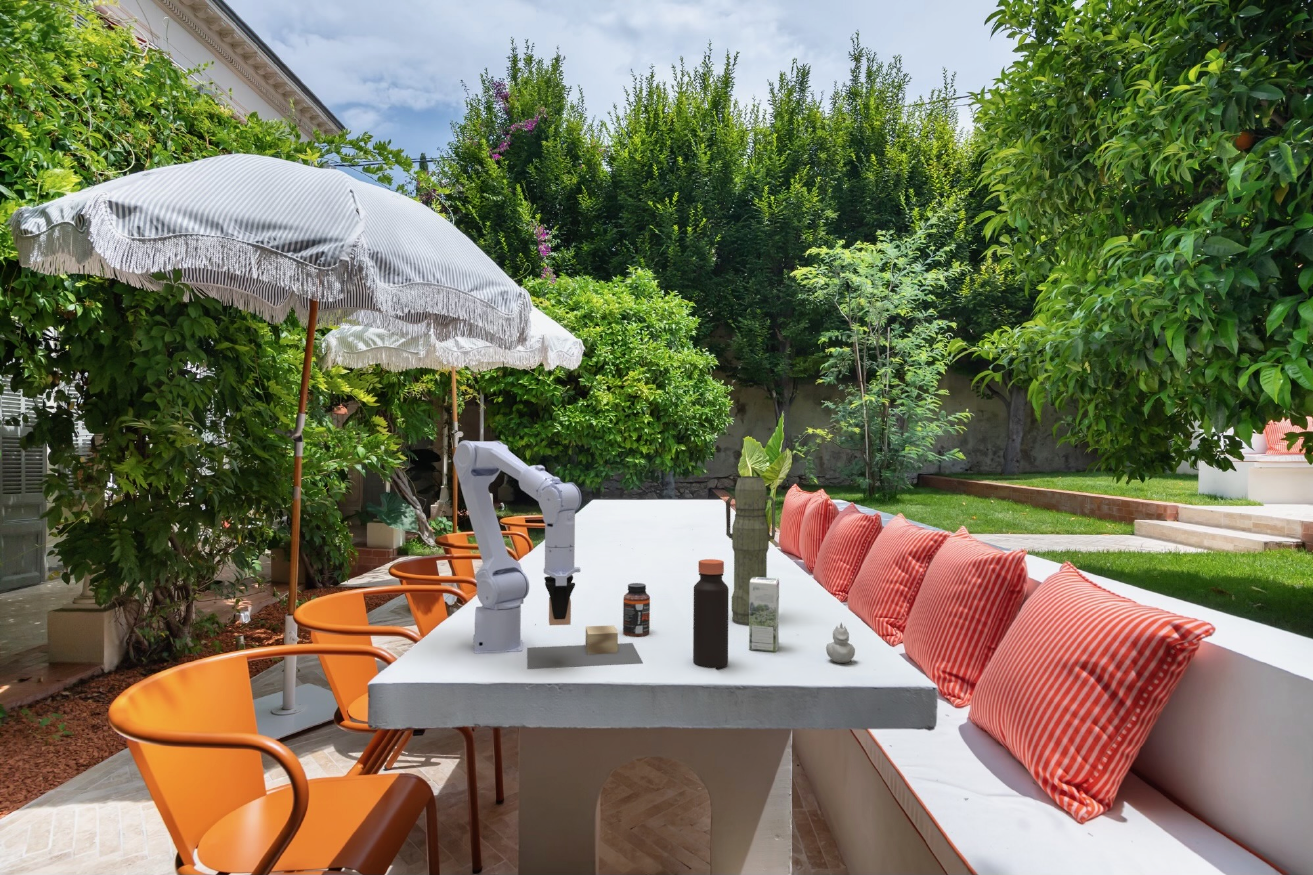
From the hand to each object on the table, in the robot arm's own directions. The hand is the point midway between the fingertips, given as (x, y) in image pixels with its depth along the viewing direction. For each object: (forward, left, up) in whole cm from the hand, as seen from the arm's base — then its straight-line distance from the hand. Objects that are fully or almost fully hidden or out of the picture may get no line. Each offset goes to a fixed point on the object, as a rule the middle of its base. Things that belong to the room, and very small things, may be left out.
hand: (559, 615), depth 136 cm
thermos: (+47, +26, -9) cm, 55 cm away
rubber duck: (+55, -7, -10) cm, 56 cm away
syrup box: (+43, +4, -9) cm, 44 cm away
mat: (+5, +3, -9) cm, 11 cm away
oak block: (+9, +7, -9) cm, 14 cm away
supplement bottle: (+18, +18, -10) cm, 27 cm away
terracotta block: (0, 0, -1) cm, 1 cm away
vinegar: (+29, -5, -9) cm, 31 cm away
